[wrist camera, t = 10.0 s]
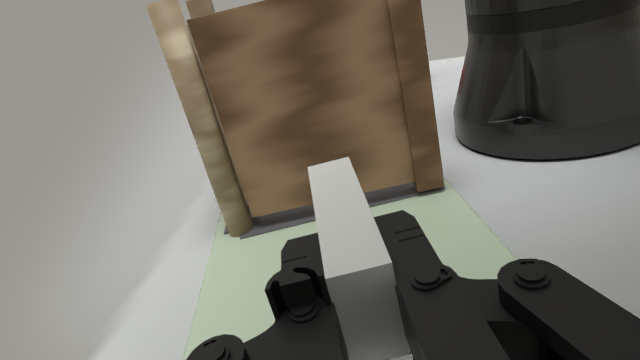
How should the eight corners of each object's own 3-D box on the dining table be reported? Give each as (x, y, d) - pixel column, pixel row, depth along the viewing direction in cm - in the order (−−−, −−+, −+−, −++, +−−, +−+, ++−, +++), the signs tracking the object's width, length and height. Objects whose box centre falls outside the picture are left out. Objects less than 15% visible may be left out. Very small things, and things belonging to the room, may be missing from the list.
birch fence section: (261, 161, 44) (209, -5, 38) (253, 233, 31) (172, -3, 25) (243, 165, 44) (189, 0, 38) (228, 239, 31) (141, 5, 25)
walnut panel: (255, 228, 31) (179, 4, 25) (257, 215, 32) (187, 2, 26) (444, 186, 30) (413, -56, 24) (437, 176, 31) (406, -54, 26)
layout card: (398, 127, 44) (397, 124, 44) (561, 315, 19) (560, 307, 19) (234, 168, 45) (232, 165, 44) (173, 408, 19) (170, 402, 19)
